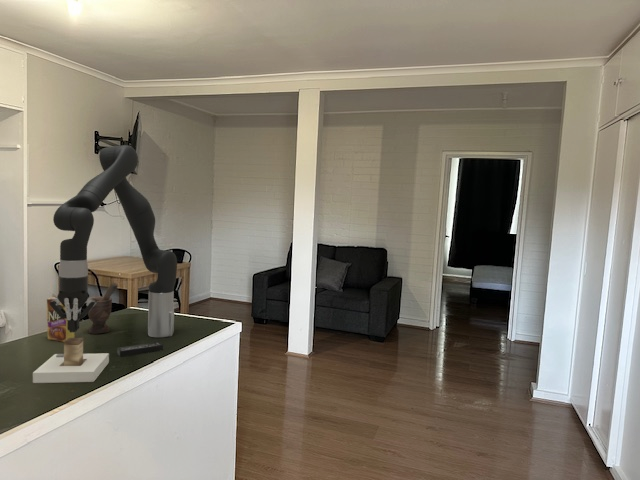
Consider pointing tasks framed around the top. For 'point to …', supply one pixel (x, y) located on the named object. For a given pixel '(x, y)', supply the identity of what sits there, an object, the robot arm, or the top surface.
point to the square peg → (73, 352)
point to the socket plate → (71, 369)
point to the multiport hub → (139, 349)
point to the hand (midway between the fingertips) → (73, 331)
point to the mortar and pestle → (101, 311)
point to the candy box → (57, 324)
